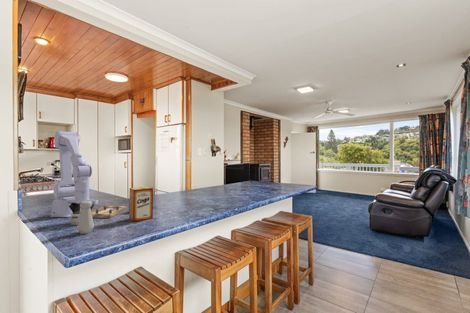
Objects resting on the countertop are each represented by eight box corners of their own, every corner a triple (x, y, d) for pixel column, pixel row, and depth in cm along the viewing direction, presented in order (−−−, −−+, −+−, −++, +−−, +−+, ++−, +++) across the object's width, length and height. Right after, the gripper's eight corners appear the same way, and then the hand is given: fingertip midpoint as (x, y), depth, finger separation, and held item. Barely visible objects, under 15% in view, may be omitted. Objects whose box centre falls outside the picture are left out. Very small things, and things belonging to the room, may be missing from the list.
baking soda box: (133, 221, 109) (133, 189, 108) (129, 218, 113) (129, 187, 113) (152, 218, 115) (153, 187, 115) (148, 215, 120) (148, 185, 120)
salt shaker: (82, 230, 96) (83, 199, 96) (96, 229, 96) (97, 199, 96) (74, 234, 90) (74, 202, 90) (89, 234, 91) (89, 202, 90)
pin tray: (85, 217, 114) (85, 211, 114) (105, 209, 131) (105, 204, 131) (110, 218, 114) (110, 212, 114) (127, 209, 131) (127, 204, 131)
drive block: (69, 225, 102) (70, 214, 102) (84, 219, 111) (84, 209, 111) (78, 225, 102) (78, 214, 102) (92, 219, 111) (92, 209, 111)
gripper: (60, 191, 102) (60, 221, 103) (91, 192, 102) (91, 221, 102) (71, 189, 109) (71, 216, 110) (101, 189, 109) (100, 217, 109)
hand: (81, 218), depth 106 cm, fingers closed on drive block, 4 cm apart
